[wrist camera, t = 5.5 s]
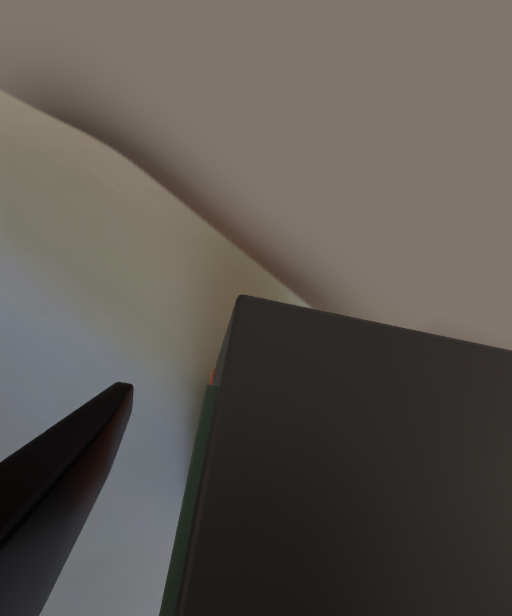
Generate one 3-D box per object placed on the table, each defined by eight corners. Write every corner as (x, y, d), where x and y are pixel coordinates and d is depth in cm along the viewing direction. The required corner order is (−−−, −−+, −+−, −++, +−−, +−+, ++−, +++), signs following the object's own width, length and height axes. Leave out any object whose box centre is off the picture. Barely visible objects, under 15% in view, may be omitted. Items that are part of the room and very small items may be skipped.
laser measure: (285, 390, 16) (535, 350, 4) (268, 517, 14) (622, 1143, 2) (209, 376, 15) (226, 285, 3) (182, 505, 14) (41, 1182, 2)
